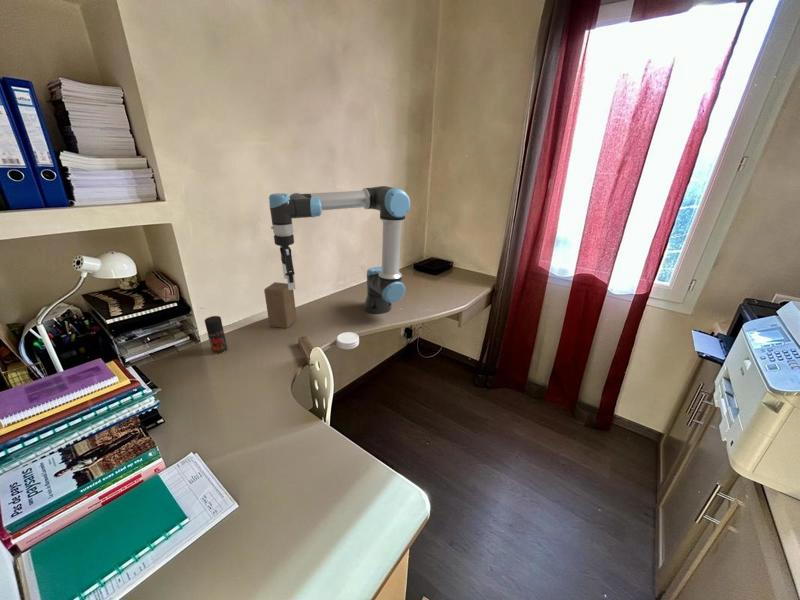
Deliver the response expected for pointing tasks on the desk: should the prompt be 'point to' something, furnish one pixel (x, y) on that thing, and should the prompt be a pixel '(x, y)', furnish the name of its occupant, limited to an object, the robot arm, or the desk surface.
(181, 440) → the desk surface
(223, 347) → the deodorant
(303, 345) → the brown wooden bar
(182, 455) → the desk surface
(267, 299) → the wooden block
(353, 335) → the coaster
